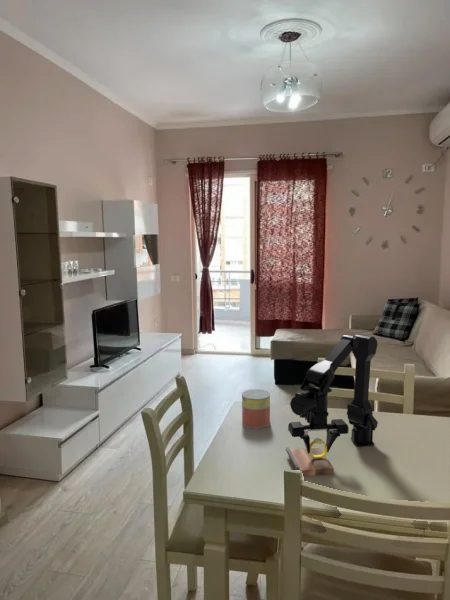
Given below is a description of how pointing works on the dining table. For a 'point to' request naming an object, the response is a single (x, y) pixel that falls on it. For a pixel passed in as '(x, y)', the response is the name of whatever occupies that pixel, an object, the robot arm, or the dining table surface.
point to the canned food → (255, 408)
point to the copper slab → (310, 462)
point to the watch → (319, 441)
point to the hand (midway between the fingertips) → (317, 452)
